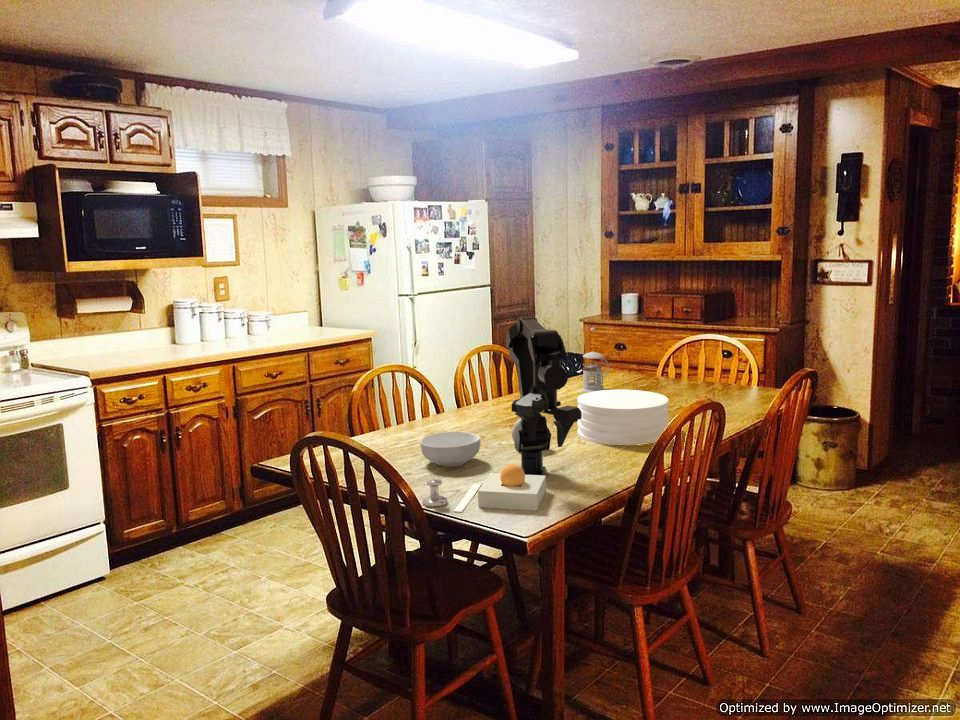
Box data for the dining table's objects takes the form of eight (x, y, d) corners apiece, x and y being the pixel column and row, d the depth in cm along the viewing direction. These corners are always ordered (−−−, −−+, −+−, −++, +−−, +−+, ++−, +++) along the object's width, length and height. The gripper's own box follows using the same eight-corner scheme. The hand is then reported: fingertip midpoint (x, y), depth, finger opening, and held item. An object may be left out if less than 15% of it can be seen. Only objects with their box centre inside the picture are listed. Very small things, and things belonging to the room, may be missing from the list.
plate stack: (669, 425, 262) (670, 390, 260) (666, 448, 236) (666, 410, 234) (584, 421, 270) (584, 388, 268) (571, 444, 243) (571, 407, 241)
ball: (508, 476, 199) (495, 463, 196) (529, 469, 197) (517, 456, 193) (508, 496, 195) (495, 484, 192) (529, 489, 193) (516, 476, 189)
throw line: (473, 484, 207) (473, 483, 207) (481, 485, 206) (481, 484, 206) (453, 511, 187) (453, 511, 187) (461, 512, 187) (461, 511, 187)
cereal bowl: (448, 451, 238) (448, 428, 237) (492, 460, 228) (492, 436, 226) (408, 465, 225) (407, 440, 224) (453, 475, 215) (452, 450, 214)
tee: (426, 498, 197) (425, 476, 196) (450, 499, 196) (449, 478, 195) (419, 506, 191) (418, 484, 191) (443, 508, 190) (442, 485, 189)
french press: (576, 388, 322) (576, 326, 318) (602, 386, 325) (603, 325, 321) (587, 393, 313) (586, 329, 309) (614, 391, 316) (614, 328, 312)
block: (491, 488, 204) (490, 473, 203) (545, 491, 200) (545, 475, 200) (478, 507, 190) (478, 490, 189) (536, 510, 187) (536, 494, 186)
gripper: (495, 381, 198) (496, 443, 201) (551, 392, 185) (552, 457, 187) (526, 375, 206) (527, 434, 208) (582, 384, 192) (583, 447, 195)
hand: (545, 443), depth 199 cm, fingers open, 9 cm apart
